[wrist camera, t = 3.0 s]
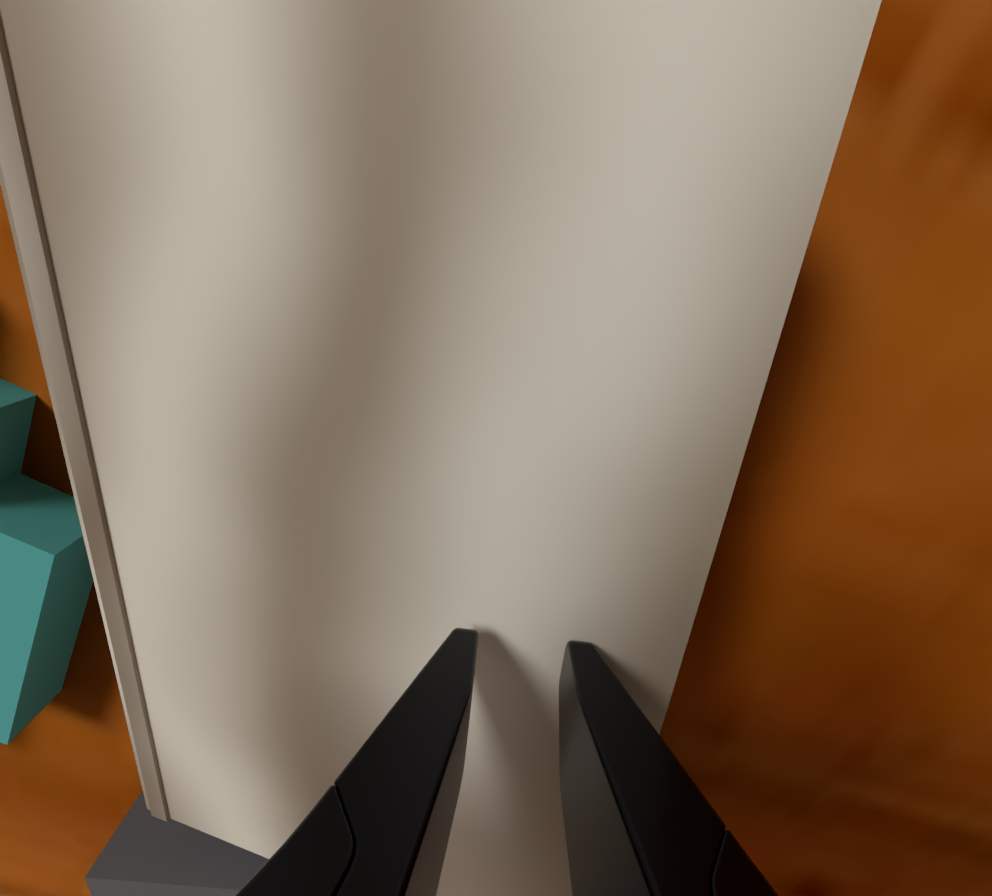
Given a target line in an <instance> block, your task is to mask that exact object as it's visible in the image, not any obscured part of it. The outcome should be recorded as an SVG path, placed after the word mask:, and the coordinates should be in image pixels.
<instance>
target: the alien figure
mask: <svg viewBox="0 0 992 896" xmlns="http://www.w3.org/2000/svg"><path fill="white" fill-rule="evenodd" d="M36 396H37V395H36V394H34V393H31V392H29V391H27V390H25V389H23V388H21V387H19V386H16V385H14V384H12V383H10V382H8V381H6V380H4V379H1V378H0V743H3V744H6V745H8V744H9V743H10V742H11V741H12V740H13V739H14V738H15V737H16V736H17V735H18V734H19V733H20V732H21V731H22V730H23V729H24V728H25V727H26V726H27V725H28V724H29V722H30V721H31V720H32V719H33V718H34V717H35V716H36V715H37V714H38V713H39V712H40V711H41V710H42V709H43V708H44V707H45V706H46V705H47V704H48V703H49V702H50V701H51V700H52V699H53V698H54V697H55V696H56V695H57V694H58V693H59V692H60V691H61V690H62V686H63V683H64V679H65V676H66V673H67V669H68V666H69V662H70V659H71V655H72V652H73V649H74V645H75V642H76V638H77V635H78V632H79V628H80V625H81V621H82V618H83V614H84V611H85V608H86V604H87V601H88V597H89V594H90V590H91V587H92V584H93V576H92V572H91V568H90V563H89V559H88V555H87V551H86V546H85V542H84V538H83V533H82V529H81V525H80V521H79V516H78V512H77V508H76V504H75V499H74V497H73V496H70V495H68V494H66V493H64V492H61V491H59V490H57V489H55V488H52V487H50V486H48V485H46V484H43V483H41V482H39V481H36V480H34V479H32V478H30V477H27V476H25V475H23V474H21V469H22V464H23V459H24V454H25V449H26V445H27V440H28V435H29V430H30V425H31V420H32V415H33V410H34V405H35V401H36Z"/></svg>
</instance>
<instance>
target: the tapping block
mask: <svg viewBox="0 0 992 896" xmlns="http://www.w3.org/2000/svg"><path fill="white" fill-rule="evenodd" d="M268 860H269V859H268V858H265V857H263V856H260V855H258V854H256V853H253V852H251V851H248V850H246V849H243V848H241V847H239V846H236V845H234V844H231V843H229V842H226V841H224V840H222V839H219V838H217V837H214V836H212V835H209V834H207V833H205V832H202V831H200V830H197V829H195V828H192V827H190V826H188V825H185V824H183V823H180V822H178V821H175V820H173V819H171V818H170V819H169V820H168V821H167V822H166V821H164V820H161V819H159V818H156V817H154V816H151V811H150V810H149V809H147V806H146V802H145V798H144V793H143V791H142V792H141V794H140V795H139V797H138V798H137V800H136V801H135V803H134V804H133V806H132V807H131V809H130V810H129V812H128V813H127V815H126V816H125V818H124V819H123V821H122V822H121V824H120V825H119V827H118V828H117V830H116V831H115V833H114V834H113V836H112V837H111V839H110V840H109V842H108V843H107V845H106V846H105V848H104V849H103V851H102V852H101V854H100V855H99V857H98V858H97V860H96V861H95V863H94V864H93V866H92V867H91V869H90V870H89V872H88V873H87V875H86V876H85V879H86V882H87V884H88V887H89V889H90V892H91V894H92V896H235V895H236V894H237V893H238V892H239V891H240V890H241V889H242V888H243V887H244V886H245V885H246V884H247V883H248V882H249V880H250V879H251V878H252V877H253V876H254V875H255V874H256V873H257V872H258V871H259V870H260V869H261V867H262V866H263V865H264V864H265V863H266V862H267V861H268Z"/></svg>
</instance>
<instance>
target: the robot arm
mask: <svg viewBox="0 0 992 896" xmlns="http://www.w3.org/2000/svg"><path fill="white" fill-rule="evenodd" d="M478 637H479V633H478V631H477V630H474V629H465V628H455V629H454V630H453V631H452V632H451V633H450V634H449V635H448V637H447V638H446V639H445V641H444V642H443V643H442V644H441V646H440V647H439V648H438V650H437V651H436V652H435V653H434V655H433V656H432V657H431V658H430V660H429V661H428V662H427V664H426V665H425V666H424V667H423V669H422V670H421V671H420V672H419V674H418V675H417V676H416V678H415V679H414V680H413V681H412V683H411V684H410V685H409V687H408V688H407V689H406V690H405V692H404V693H403V694H402V695H401V697H400V698H399V699H398V701H397V702H396V703H395V704H394V706H393V707H392V708H391V710H390V711H389V712H388V713H387V715H386V716H385V717H384V718H383V720H382V721H381V722H380V724H379V725H378V726H377V727H376V729H375V730H374V731H373V732H372V734H371V735H370V736H369V738H368V739H367V740H366V741H365V743H364V744H363V745H362V747H361V748H360V749H359V750H358V752H357V753H356V754H355V755H354V757H353V758H352V759H351V761H350V762H349V763H348V764H347V766H346V767H345V768H344V769H343V771H342V772H341V773H340V775H339V776H338V777H337V778H336V780H335V781H334V785H332V786H330V787H329V788H328V790H327V791H326V792H325V793H324V795H323V796H322V797H321V798H320V800H319V801H318V802H317V804H316V805H315V806H314V807H313V809H312V810H311V811H310V812H309V814H308V815H307V816H306V817H305V818H304V820H303V821H302V822H301V823H300V824H299V826H298V827H297V828H296V829H295V830H294V832H293V833H292V834H291V835H290V836H289V838H288V839H287V840H286V841H285V842H284V844H283V845H282V846H281V847H280V848H279V849H278V850H277V851H276V852H275V853H274V854H273V856H272V857H271V858H270V859H269V860H268V861H267V862H266V863H265V864H264V865H263V866H262V867H261V869H260V870H259V871H258V872H257V873H256V874H255V875H254V876H253V877H252V878H251V879H250V880H249V882H248V883H247V884H246V885H245V886H244V887H243V888H242V889H241V890H240V891H239V892H238V893H237V894H236V895H235V896H436V893H437V889H438V885H439V880H440V876H441V871H442V867H443V863H444V858H445V854H446V849H447V845H448V841H449V836H450V832H451V827H452V823H453V818H454V814H455V810H456V805H457V801H458V796H459V792H460V787H461V782H462V777H463V771H464V764H465V756H466V747H467V738H468V729H469V720H470V711H471V702H472V693H473V684H474V674H475V665H476V656H477V647H478ZM559 773H560V792H561V803H562V811H563V819H564V828H565V836H566V845H567V853H568V861H569V870H570V878H571V887H572V895H573V896H778V894H777V893H776V892H775V890H774V889H773V888H772V886H771V885H770V884H769V883H768V881H767V880H766V879H765V877H764V876H763V875H762V873H761V872H760V871H759V869H758V868H757V867H756V866H755V864H754V863H753V862H752V860H751V859H750V858H749V856H748V855H747V854H746V852H745V851H744V850H743V848H742V847H741V845H740V844H739V843H738V841H737V840H736V839H735V837H734V836H733V834H732V833H731V832H730V831H729V830H726V831H725V828H726V826H725V824H724V823H723V821H722V820H721V818H720V817H719V816H718V814H717V813H716V812H715V810H714V809H713V808H712V806H711V805H710V803H709V802H708V801H707V799H706V798H705V797H704V795H703V794H702V792H701V791H700V790H699V788H698V787H697V786H696V784H695V783H694V782H693V780H692V779H691V777H690V776H689V775H688V773H687V772H686V771H685V769H684V768H683V766H682V765H681V764H680V762H679V761H678V760H677V758H676V757H675V756H674V754H673V753H672V751H671V750H670V749H669V747H668V746H667V745H666V743H665V742H664V741H663V739H662V738H661V736H660V735H659V734H658V732H657V731H656V730H655V728H654V727H653V725H652V724H651V723H650V721H649V720H648V719H647V717H646V716H645V715H644V713H643V712H642V710H641V709H640V708H639V706H638V705H637V704H636V702H635V701H634V699H633V698H632V697H631V695H630V694H629V693H628V691H627V690H626V689H625V687H624V686H623V684H622V683H621V682H620V680H619V679H618V678H617V676H616V675H615V673H614V672H613V671H612V669H611V668H610V667H609V665H608V664H607V663H606V661H605V660H604V658H603V657H602V656H601V654H600V653H599V652H598V650H597V649H596V648H595V646H594V645H593V644H592V643H589V642H582V641H573V640H570V641H568V642H567V644H566V647H565V652H564V658H563V663H562V668H561V673H560V680H559Z"/></svg>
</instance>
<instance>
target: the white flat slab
mask: <svg viewBox="0 0 992 896" xmlns="http://www.w3.org/2000/svg"><path fill="white" fill-rule="evenodd" d="M881 1H882V0H0V184H1V188H2V193H3V197H4V201H5V205H6V210H7V214H8V218H9V222H10V227H11V231H12V235H13V239H14V244H15V248H16V252H17V256H18V261H19V265H20V269H21V274H22V278H23V282H24V286H25V291H26V295H27V299H28V303H29V308H30V312H31V316H32V320H33V325H34V329H35V333H36V337H37V342H38V346H39V350H40V355H41V359H42V363H43V367H44V372H45V376H46V380H47V384H48V389H49V393H50V397H51V401H52V406H53V410H54V414H55V418H56V423H57V427H58V431H59V435H60V440H61V444H62V448H63V453H64V457H65V461H66V465H67V470H68V474H69V478H70V482H71V487H72V491H73V495H74V499H75V504H76V508H77V512H78V516H79V521H80V525H81V529H82V533H83V538H84V542H85V546H86V551H87V555H88V559H89V563H90V568H91V572H92V576H93V580H94V585H95V589H96V593H97V597H98V602H99V606H100V610H101V614H102V619H103V623H104V627H105V632H106V636H107V640H108V644H109V649H110V653H111V657H112V661H113V666H114V670H115V674H116V678H117V683H118V687H119V691H120V695H121V700H122V704H123V708H124V712H125V717H126V721H127V725H128V730H129V734H130V738H131V742H132V747H133V751H134V755H135V759H136V764H137V768H138V772H139V776H140V781H141V785H142V789H143V793H144V798H145V802H146V806H147V809H149V810H150V811H151V816H154V817H156V818H159V819H161V820H164V821H166V822H167V821H168V820H169V819H170V818H171V819H173V820H175V821H178V822H180V823H183V824H185V825H188V826H190V827H192V828H195V829H197V830H200V831H202V832H205V833H207V834H209V835H212V836H214V837H217V838H219V839H222V840H224V841H226V842H229V843H231V844H234V845H236V846H239V847H241V848H243V849H246V850H248V851H251V852H253V853H256V854H258V855H260V856H263V857H265V858H268V859H270V858H271V857H272V856H273V854H274V853H275V852H276V851H277V850H278V849H279V848H280V847H281V846H282V845H283V844H284V842H285V841H286V840H287V839H288V838H289V836H290V835H291V834H292V833H293V832H294V830H295V829H296V828H297V827H298V826H299V824H300V823H301V822H302V821H303V820H304V818H305V817H306V816H307V815H308V814H309V812H310V811H311V810H312V809H313V807H314V806H315V805H316V804H317V802H318V801H319V800H320V798H321V797H322V796H323V795H324V793H325V792H326V791H327V790H328V788H329V787H330V786H332V785H334V781H335V780H336V778H337V777H338V776H339V775H340V773H341V772H342V771H343V769H344V768H345V767H346V766H347V764H348V763H349V762H350V761H351V759H352V758H353V757H354V755H355V754H356V753H357V752H358V750H359V749H360V748H361V747H362V745H363V744H364V743H365V741H366V740H367V739H368V738H369V736H370V735H371V734H372V732H373V731H374V730H375V729H376V727H377V726H378V725H379V724H380V722H381V721H382V720H383V718H384V717H385V716H386V715H387V713H388V712H389V711H390V710H391V708H392V707H393V706H394V704H395V703H396V702H397V701H398V699H399V698H400V697H401V695H402V694H403V693H404V692H405V690H406V689H407V688H408V687H409V685H410V684H411V683H412V681H413V680H414V679H415V678H416V676H417V675H418V674H419V672H420V671H421V670H422V669H423V667H424V666H425V665H426V664H427V662H428V661H429V660H430V658H431V657H432V656H433V655H434V653H435V652H436V651H437V650H438V648H439V647H440V646H441V644H442V643H443V642H444V641H445V639H446V638H447V637H448V635H449V634H450V633H451V632H452V631H453V630H454V629H455V628H465V629H474V630H477V631H478V633H479V637H478V647H477V656H476V665H475V674H474V684H473V693H472V702H471V711H470V720H469V729H468V738H467V747H466V756H465V764H464V771H463V777H462V782H461V787H460V792H459V796H458V801H457V805H456V810H455V814H454V818H453V823H452V827H451V832H450V836H449V841H448V845H447V849H446V854H445V858H444V863H443V867H442V871H441V876H440V880H439V885H438V889H437V893H436V896H573V895H572V887H571V878H570V870H569V861H568V853H567V845H566V836H565V828H564V819H563V811H562V803H561V792H560V773H559V680H560V673H561V668H562V663H563V658H564V652H565V647H566V644H567V642H568V641H570V640H573V641H582V642H589V643H592V644H593V645H594V646H595V648H596V649H597V650H598V652H599V653H600V654H601V656H602V657H603V658H604V660H605V661H606V663H607V664H608V665H609V667H610V668H611V669H612V671H613V672H614V673H615V675H616V676H617V678H618V679H619V680H620V682H621V683H622V684H623V686H624V687H625V689H626V690H627V691H628V693H629V694H630V695H631V697H632V698H633V699H634V701H635V702H636V704H637V705H638V706H639V708H640V709H641V710H642V712H643V713H644V715H645V716H646V717H647V719H648V720H649V721H650V723H651V724H652V725H653V727H654V728H655V730H656V731H657V732H658V734H659V735H660V732H661V729H662V725H663V722H664V719H665V715H666V712H667V709H668V705H669V702H670V699H671V696H672V692H673V689H674V686H675V682H676V679H677V676H678V672H679V669H680V666H681V662H682V659H683V656H684V653H685V649H686V646H687V643H688V639H689V636H690V633H691V629H692V626H693V623H694V619H695V616H696V613H697V609H698V606H699V603H700V600H701V596H702V593H703V590H704V586H705V583H706V580H707V576H708V573H709V570H710V566H711V563H712V560H713V557H714V553H715V550H716V547H717V543H718V540H719V537H720V533H721V530H722V527H723V523H724V520H725V517H726V514H727V510H728V507H729V504H730V500H731V497H732V494H733V490H734V487H735V484H736V480H737V477H738V474H739V471H740V467H741V464H742V461H743V457H744V454H745V451H746V447H747V444H748V441H749V437H750V434H751V431H752V428H753V424H754V421H755V418H756V414H757V411H758V408H759V404H760V401H761V398H762V394H763V391H764V388H765V385H766V381H767V378H768V375H769V371H770V368H771V365H772V361H773V358H774V355H775V351H776V348H777V345H778V342H779V338H780V335H781V332H782V328H783V325H784V322H785V318H786V315H787V312H788V308H789V305H790V302H791V299H792V295H793V292H794V289H795V285H796V282H797V279H798V275H799V272H800V269H801V265H802V262H803V259H804V255H805V252H806V249H807V246H808V242H809V239H810V236H811V232H812V229H813V226H814V222H815V219H816V216H817V212H818V209H819V206H820V203H821V199H822V196H823V193H824V189H825V186H826V183H827V179H828V176H829V173H830V169H831V166H832V163H833V160H834V156H835V153H836V150H837V146H838V143H839V140H840V136H841V133H842V130H843V126H844V123H845V120H846V117H847V113H848V110H849V107H850V103H851V100H852V97H853V93H854V90H855V87H856V83H857V80H858V77H859V74H860V70H861V67H862V64H863V60H864V57H865V54H866V50H867V47H868V44H869V40H870V37H871V34H872V31H873V27H874V24H875V21H876V17H877V14H878V11H879V7H880V4H881Z"/></svg>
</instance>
